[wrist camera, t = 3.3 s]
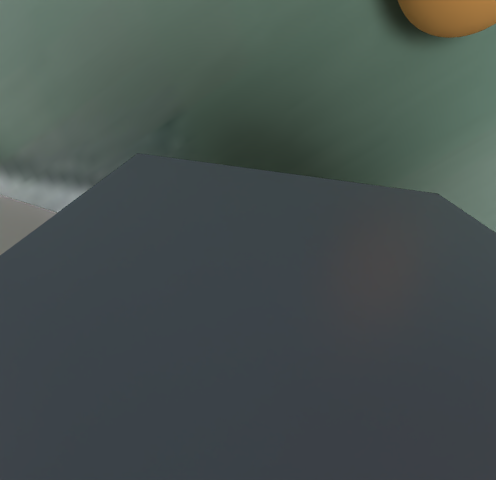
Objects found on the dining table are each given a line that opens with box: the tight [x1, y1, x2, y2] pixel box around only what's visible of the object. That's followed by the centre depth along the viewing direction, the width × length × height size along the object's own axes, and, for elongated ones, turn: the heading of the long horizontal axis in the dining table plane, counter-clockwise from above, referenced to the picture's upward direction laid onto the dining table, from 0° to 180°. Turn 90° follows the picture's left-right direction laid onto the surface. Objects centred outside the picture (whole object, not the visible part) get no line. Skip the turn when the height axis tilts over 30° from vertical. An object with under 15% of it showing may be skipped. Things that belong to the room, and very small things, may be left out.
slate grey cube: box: [0, 153, 496, 480], centre depth 7 cm, size 8×8×9 cm
